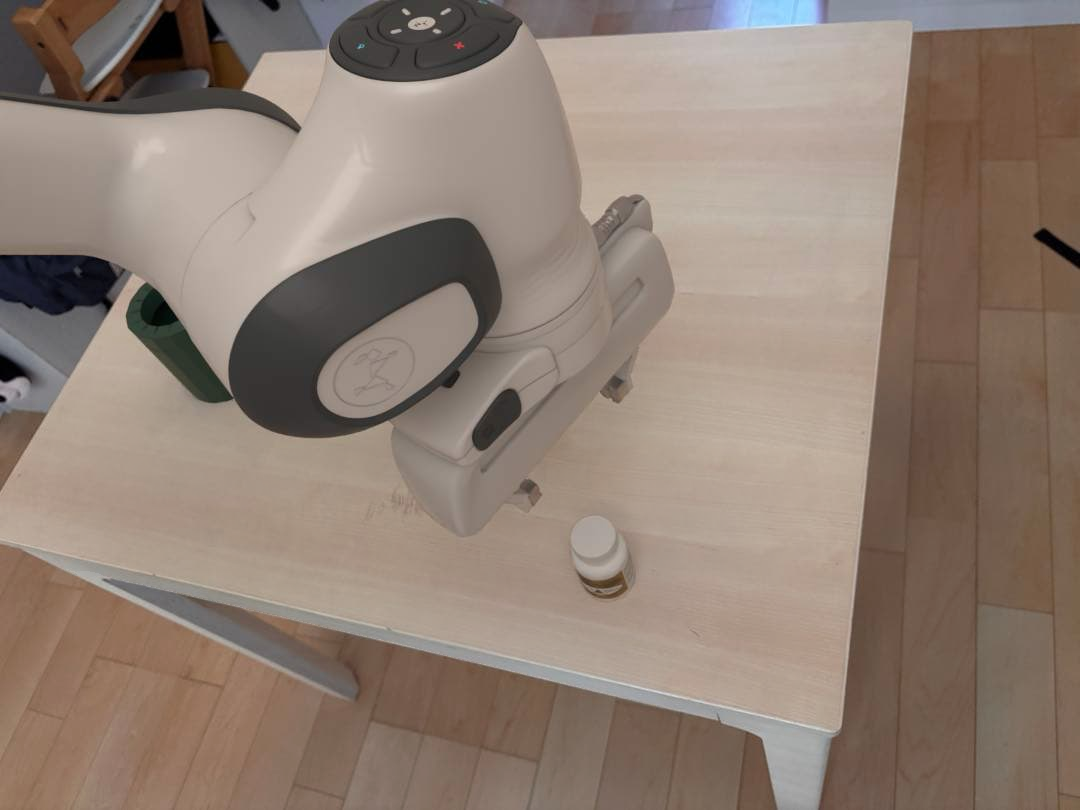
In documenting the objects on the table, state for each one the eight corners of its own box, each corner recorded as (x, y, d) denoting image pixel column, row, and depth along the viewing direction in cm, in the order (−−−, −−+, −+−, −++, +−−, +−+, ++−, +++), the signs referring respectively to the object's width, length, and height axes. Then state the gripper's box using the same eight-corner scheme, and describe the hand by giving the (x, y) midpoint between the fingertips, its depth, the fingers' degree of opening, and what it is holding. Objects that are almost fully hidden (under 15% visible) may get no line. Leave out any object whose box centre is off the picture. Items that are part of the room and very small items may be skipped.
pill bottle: (578, 600, 69) (559, 561, 63) (586, 550, 72) (568, 507, 65) (632, 605, 68) (618, 565, 62) (638, 553, 70) (625, 510, 64)
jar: (217, 417, 89) (155, 353, 80) (172, 375, 94) (109, 311, 85) (286, 356, 92) (234, 288, 83) (239, 318, 96) (184, 250, 88)
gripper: (597, 159, 49) (629, 315, 60) (345, 418, 42) (433, 539, 54) (690, 194, 46) (706, 351, 57) (433, 480, 39) (508, 594, 50)
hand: (572, 444), depth 55 cm, fingers open, 8 cm apart
